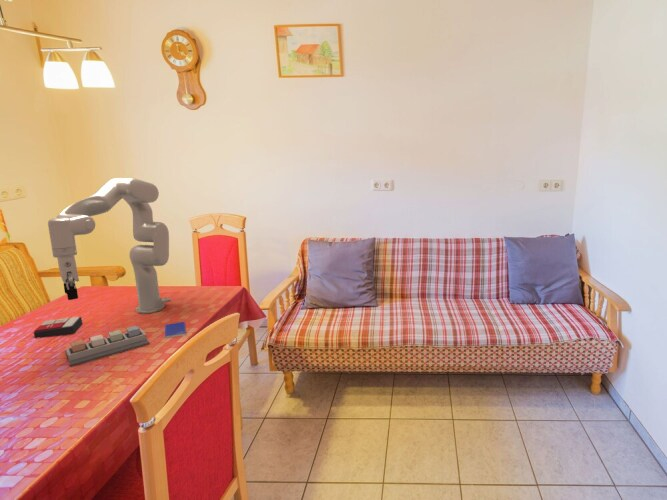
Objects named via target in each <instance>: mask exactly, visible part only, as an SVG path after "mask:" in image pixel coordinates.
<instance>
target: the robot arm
mask: <svg viewBox="0 0 667 500" xmlns="http://www.w3.org/2000/svg"><path fill="white" fill-rule="evenodd" d="M159 193H160V192H159V189H158V188H157V186H156V185H155V184H154V183H151V182H148V181H144V180H141V179H137V178H134V177H114V178H111V179H108V181H106V182H105V183H104V184H103V185H102V186H100V188H98V190H97V191H95V192H94V193H92V195H90V196H87V197H84V198H83V199H80V200H78V201H76V202H74V203H72V204H70V205H69V206H66V207H65V208H64V209H63V210H62V211H61V212H60V213H59V214H57V216H56V217H54V218H50V219H48V222H47V226H48V232H49V239H50V245H51V252H52V257H53V258H56V259H57V264H58V269H59V273H60V277H61V280H62V282H63V288H64V290H63V291H64V293H65V294H66V295H67V300H68V301H72V300H78V299H79V295H78V289H77V286H76V285H77V284H76V282H77V283H78V282H79V281H80V279H79V275H78V273H79V272H78V268H77V263H76V259H75V256H77V255H78V250H77V245H76V239H75V237H76V236H82V235H83V236H84V235H89V234H91V233H92V232H94V230H95V228H96V221H95V220H94V218H93V217H94V216H98V215H102V214H104V213H105V214H106V213H108V212H109V211H111V209H113V207H115V206H116V205H117V204H118V202H120V201H121V200H122V199H123V200H124V201H125V202H126V203H127V204H128V206H129V207H130V209H131V212H132V234H133V238H134V239H135V241H137V242H140V243H141V242H142V243H153V244H151V245H150V244H137V245H134V246H133V247H132V248H131V249H130V251H129V259H130V262H131V265H132V268H133V272H134V273H133V274H134V280H135V286H136V294H137V300H138V306H136V307H135V311H136V312H137V314H141V315H142V314H153V313H158V312H159V311H162V310H163V309H164V308H165V304H166V303H169V302H172V301H171V300H172V299H171V297H167V296H166V297H162V298H161V297H160V289H159V280H158V273H157V270H156V268H155V267H163V266H165V265H166V264H167V263H168V262H169V258H170V257H169V256H170V234H169V229H168V226H167V225H166V224H165V223H163V222H161V221H154V218H153V217H154V216H153V209H152V206H151V205H150V204H149V203H154V202H156V201H157V200H158V198H159Z"/></svg>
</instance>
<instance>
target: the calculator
mask: <svg viewBox="0 0 667 500" xmlns="http://www.w3.org/2000/svg"><path fill="white" fill-rule="evenodd" d="M82 325H83V320H82V316H73V317H64V318H59V319H50V320H44V321H43V322H42V323H40V325H38V327H37V328H35V330H34V331H33V335H34V339H38V338H37V337H40V338H48V337H55V336H68V335H75V334H76V332H77V331H78V330H79V329H80V328H81V327H82Z"/></svg>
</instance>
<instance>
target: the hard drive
mask: <svg viewBox="0 0 667 500" xmlns="http://www.w3.org/2000/svg"><path fill="white" fill-rule="evenodd" d="M181 336H182V337H183V336H187V332H186V323H185V321H180V322H174V323H167V324H165V325H164V339H170V338H177V337H181Z"/></svg>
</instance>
